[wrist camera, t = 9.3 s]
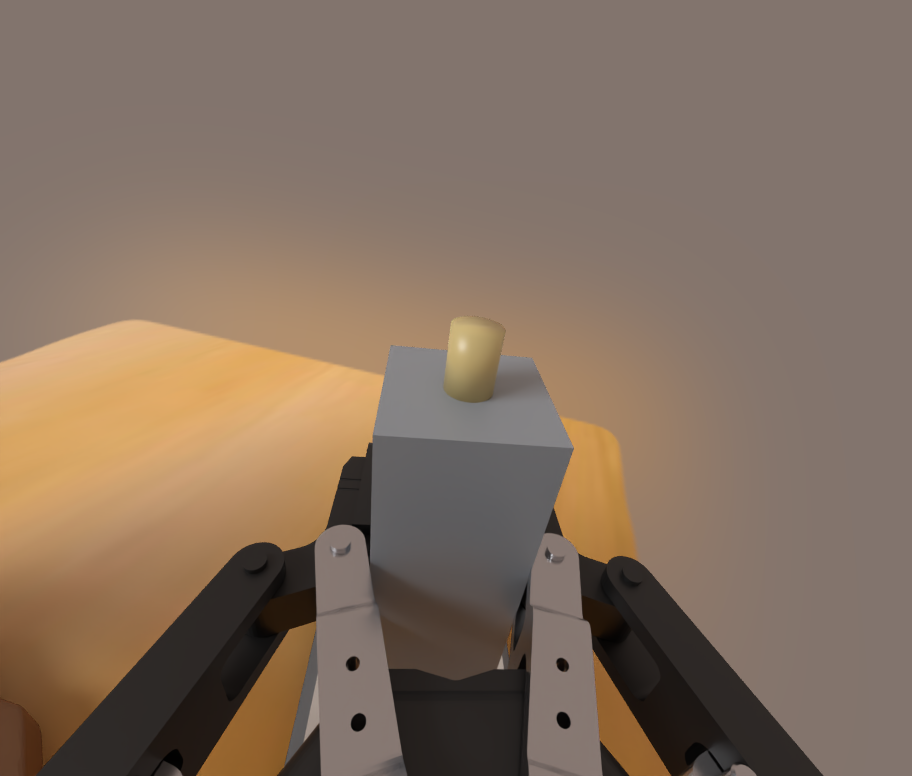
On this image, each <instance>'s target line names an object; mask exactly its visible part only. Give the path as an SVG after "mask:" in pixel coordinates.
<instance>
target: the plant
mask: <svg viewBox="0 0 912 776" xmlns="http://www.w3.org/2000/svg"><path fill="white" fill-rule="evenodd" d="M41 769H42V739H41V732H40V728H39V725H38V724H37V723H36V721H35V720H34V719H33V718H32V717H31V716H30V715H29V714H28V712H27V711H26V710H25V709H24V708H23V707H21V706H20V705H17V704H14V703H11V702H8V701H5V700H2V699H0V776H35V775H37V774H38V772H39V771H40V770H41Z"/></svg>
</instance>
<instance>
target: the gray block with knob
mask: <svg viewBox="0 0 912 776" xmlns="http://www.w3.org/2000/svg"><path fill="white" fill-rule="evenodd" d="M505 331H506V330H505V328H504V327H503V326H502V325H501V324H500V323H498V322H495V321H493V320H490V319H487V318H483V317H476V316H463V317H458V318H455V319H453V320H452V322H451V328H450V335H449V343H448V350H437V349H426V348H414V347H402V346H393V345H391V347H390V352H389V357H388V362H387V367H386V372H385V377H384V382H383V387H382V392H381V397H380V402H379V407H378V412H377V417H376V422H375V427H374V432H373V448H372V492H371V536H370V574H371V580H372V587H373V593H374V599H375V602H377V604H378V609H379V614H380V620H381V626H382V633H383V639H384V645H385V651H386V657H387V664H388V669H418V670H421V671H425V672H428V673H431V674H434V675H438V676H441V677H444V678H448V679H451V680H461V679H464V678H467V677H471V676H474V675H477V674H480V673H484V672H487V671H490V670H493V669H497V668H498V665H499V662H500V659H501V656H502V653H503V650H504V647H505V645H506V642H507V639H508V636H509V633H510V630H511V627H512V625H513V619H514V616H515V613H516V611H517V610H518V607H519V604H520V602H521V599H522V596H523V593H524V590H525V587H526V584H527V581H528V575H529V573H530V570H531V567H533V564H534V561H535V558H536V556H537V553H538V550H539V547H540V544H541V541H542V538H543V535H544V533H545V530H546V527H547V524H548V521H549V518H550V515H551V512H552V510H553V507H554V504H555V501H556V498H557V495H558V492H559V489H560V487H561V484H562V481H563V478H564V475H565V472H566V469H567V467H568V464H569V461H570V458H571V455H572V452H573V449H574V447H573V445H572V443H571V441H570V439H569V437H568V435H567V432H566V430H565V428H564V426H563V424H562V422H561V419H560V417H559V415H558V413H557V411H556V409H555V406H554V404H553V402H552V400H551V398H550V396H549V393H548V391H547V389H546V387H545V385H544V383H543V381H542V378H541V376H540V374H539V372H538V370H537V368H536V365H535V363H534V361H533V359H532V358H527V357H516V356H505V355H501V351H502V346H503V341H504V336H505Z"/></svg>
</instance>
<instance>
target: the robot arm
mask: <svg viewBox="0 0 912 776" xmlns="http://www.w3.org/2000/svg"><path fill="white" fill-rule="evenodd" d="M372 448H373V443H369V444H368V449H367V453H366V457H354V456H352V457H351V458H350V459H349V461H348V462H347V463H346V464H345V465H344V466H343V469H342V473H341V476H340V480H339V484H338V488H337V491H336V495H335V499H334V502H333V506H332V510H331V514H330V517H329V521H328V525H327V527H326V529H325V531H324V532H323V533H322V534H321V535H320V536H319V537H318V539H317V540H315V541H314V542H312V543H311V544H309V545H306V546H304V547H300V548H296V549H292V550H288V551H284V552H282V550H281V549H280V548H279V547H278V546H276V545H274V544H272V543H266V542H262V543H255V544H252V545H249V546H247V547H245V548H243V549H241V550H240V551H238V552H237V553H236V554H235V555H234V556H233V557H232V558H231V559H230V560H229V561H228V563H227V564H226V565H225V566H224V567H223V568H222V569H221V570H220V571H219V573H218V574H217V575H216V576H215V577H214V578H213V579H212V580H211V581H210V583H209V584H208V585H207V586H206V587H205V588H204V589H203V590H202V591H201V593H200V594H199V595H198V596H197V597H196V598H195V599H194V600H193V601H192V603H191V604H190V605H189V606H188V607H187V608H186V609H185V610H184V611H183V613H182V614H181V615H180V616H179V617H178V618H177V619H176V620H175V621H174V623H173V624H172V625H171V626H170V627H169V628H168V629H167V630H166V631H165V633H164V634H163V635H162V636H161V637H160V638H159V639H158V640H157V641H156V643H155V644H154V645H153V646H152V647H151V648H150V649H149V650H148V651H147V653H146V654H145V655H144V656H143V657H142V658H141V659H140V660H139V661H138V662H137V664H136V665H135V666H134V667H133V668H132V669H131V670H130V671H129V672H128V674H127V675H126V676H125V677H124V678H123V679H122V680H121V681H120V682H119V684H118V685H117V686H116V687H115V688H114V689H113V690H112V691H111V692H110V694H109V695H108V696H107V697H106V698H105V699H104V700H103V701H102V702H101V704H100V705H99V706H98V707H97V708H96V709H95V710H94V711H93V712H92V714H91V715H90V716H89V717H88V718H87V719H86V720H85V721H84V722H83V724H82V725H81V726H80V727H79V728H78V729H77V730H76V731H75V732H74V734H73V735H72V736H71V737H70V738H69V739H68V740H67V741H66V742H65V744H64V745H63V746H62V747H61V748H60V749H59V750H58V751H57V752H56V754H55V755H54V756H53V757H52V758H51V759H50V760H49V761H48V762H47V764H46V765H45V766H44V767H43V768H42V769H41V770H40V771H39V772H38V774H37V775H36V776H196V775H197V773H198V772H199V770H200V768H201V767H202V765H203V764H204V762H205V761H206V759H207V757H208V756H209V754H210V753H211V751H212V750H213V748H214V747H215V745H216V743H217V742H218V740H219V739H220V737H221V736H222V734H223V732H224V731H225V729H226V728H227V726H228V725H229V723H230V721H231V720H232V718H233V717H234V715H235V714H236V712H237V710H238V709H239V707H240V706H241V704H242V703H243V701H244V700H245V698H246V696H247V695H248V693H249V692H250V690H251V689H252V687H253V685H254V684H255V682H256V681H257V679H258V678H259V676H260V674H261V673H262V671H263V670H264V668H265V667H266V665H267V664H268V662H269V660H270V659H271V657H272V656H273V654H274V653H275V651H276V649H277V648H278V646H279V645H280V643H281V642H282V640H283V638H284V637H285V635H286V634H287V632H288V631H289V629H292V628H295V627H299V626H302V625H305V624H308V623H311V622H315V621H316V630H317V661H318V693H319V724H318V725H317V726H316V727H315V729H314V730H313V731H312V732H311V734H310V735H309V736H308V738H307V739H306V740H305V741H304V743H303V744H302V745H301V746H300V748H299V749H298V750H297V751H296V753H295V754H294V755H293V756H292V758H291V759H290V760H289V761H288V763H287V764H286V765H285V766H284V768H283V769H282V770H281V771H280V773H279V774H278V775H277V776H629V775H628V774H627V772H626V771H625V770H624V769H623V768H622V766H621V765H620V764H619V763H618V762H617V760H616V759H615V758H614V757H613V756H612V754H611V753H610V752H609V751H608V750H607V748H606V747H605V746H604V745H603V744H602V743H601V741H600V740H599V727H598V714H597V702H596V689H595V676H594V663H593V651H592V649H593V650H594V652H595V654H596V655H597V657H598V658H599V660H600V662H601V663H602V665H603V667H604V668H605V670H606V671H607V673H608V675H609V676H610V678H611V679H612V681H613V683H614V684H615V686H616V687H617V689H618V691H619V692H620V694H621V695H622V697H623V699H624V700H625V702H626V704H627V705H628V707H629V708H630V710H631V712H632V713H633V715H634V716H635V718H636V720H637V721H638V723H639V724H640V726H641V728H642V729H643V731H644V732H645V734H646V736H647V737H648V739H649V741H650V742H651V744H652V745H653V747H654V749H655V750H656V752H657V753H658V755H659V757H660V758H661V760H662V761H663V763H664V765H665V766H666V768H667V769H668V771H669V773H670V774H671V776H823V775H822V774H821V773H820V771H819V770H818V769H817V768H816V767H815V765H814V764H813V763H812V762H811V761H810V760H809V758H808V757H807V756H806V755H805V754H804V752H803V751H802V750H801V749H800V748H799V747H798V745H797V744H796V743H795V742H794V741H793V740H792V738H791V737H790V736H789V735H788V734H787V732H786V731H785V730H784V729H783V728H782V727H781V726H780V724H779V723H778V722H777V721H776V720H775V718H774V717H773V716H772V715H771V714H770V713H769V712H768V710H767V709H766V708H765V707H764V706H763V704H762V703H761V702H760V701H759V700H758V698H757V697H756V696H755V695H754V694H753V693H752V691H751V690H750V689H749V688H748V687H747V686H746V684H745V683H744V682H743V681H742V680H741V679H740V677H739V676H738V675H737V674H736V673H735V671H734V670H733V669H732V668H731V667H730V666H729V664H728V663H727V662H726V661H725V660H724V659H723V657H722V656H721V655H720V654H719V653H718V652H717V650H716V649H715V648H714V647H713V646H712V645H711V643H710V642H709V641H708V640H707V639H706V637H705V636H704V635H703V634H702V633H701V632H700V630H699V629H698V628H697V627H696V626H695V625H694V623H693V622H692V621H691V620H690V619H689V618H688V616H687V615H686V614H685V613H684V612H683V610H682V609H681V608H680V607H679V606H678V605H677V603H676V602H675V601H674V600H673V599H672V598H671V597H670V595H669V594H668V593H667V592H666V591H665V589H664V588H663V587H662V586H661V585H660V583H659V582H658V581H657V580H656V579H655V578H654V576H653V575H652V574H651V573H650V572H649V571H648V570H647V568H645V567H644V566H643V565H642V564H641V563H639V562H638V561H636V560H634V559H632V558H629V557H624V556H617V557H614V558H612V559H611V560H609V562H608V564H605V563H602V562H599V561H596V560H593V559H590V558H587V557H584V556H582V555H580V554H579V553H577V550H576V548H575V547H574V546H573V544H572V543H571V542H570V541H568V540H567V539H566V538H564V537H563V535H562V532H561V529H560V526H559V523H558V520H557V517H556V514H555V511H554V508H553V510H552V512H551V515H550V518H549V521H548V524H547V527H546V530H545V533H544V535H543V538H542V541H541V544H540V547H539V550H538V553H537V556H536V558H535V561H534V564H533V567H531V570H530V573H529V575H528V581H527V584H526V587H525V590H524V593H523V596H522V599H521V602H520V604H519V607H518V610H517V611H516V613H515V616H514V619H513V625H512V637H511V648H510V658H509V664H508V669H493V670H490V671H487V672H484V673H480V674H477V675H474V676H471V677H467V678H464V679H461V680H451V679H448V678H444V677H441V676H438V675H434V674H431V673H428V672H425V671H421V670H418V669H388V664H387V657H386V651H385V645H384V639H383V633H382V626H381V620H380V614H379V609H378V604H377V602H375V599H374V593H373V587H372V580H371V574H370V536H371V492H372Z"/></svg>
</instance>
